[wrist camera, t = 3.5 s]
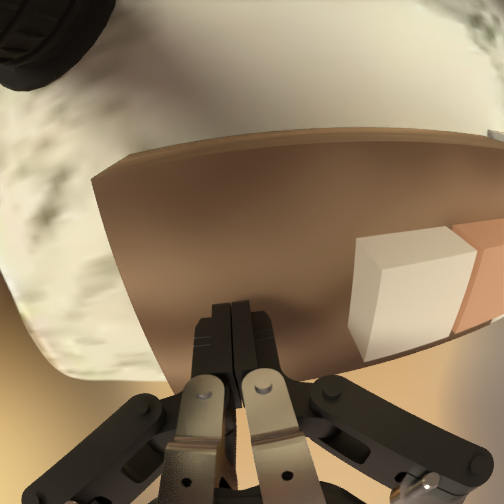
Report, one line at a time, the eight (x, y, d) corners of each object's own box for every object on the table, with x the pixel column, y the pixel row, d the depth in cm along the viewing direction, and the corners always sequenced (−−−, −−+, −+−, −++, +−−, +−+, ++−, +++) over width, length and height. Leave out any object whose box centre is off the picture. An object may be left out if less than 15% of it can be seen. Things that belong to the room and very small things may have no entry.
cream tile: (356, 238, 12) (382, 269, 10) (445, 226, 12) (477, 250, 10) (347, 326, 14) (364, 362, 12) (426, 307, 14) (448, 336, 12)
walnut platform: (129, 154, 14) (90, 179, 10) (484, 136, 14) (535, 154, 10) (181, 338, 20) (174, 394, 16) (457, 288, 21) (489, 324, 16)
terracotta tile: (452, 225, 12) (484, 249, 10) (507, 217, 12) (535, 237, 10) (433, 305, 14) (455, 333, 12) (487, 288, 14) (508, 311, 12)
